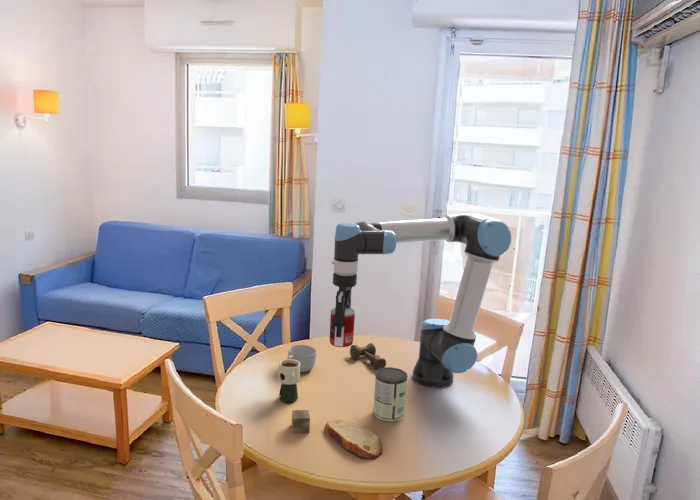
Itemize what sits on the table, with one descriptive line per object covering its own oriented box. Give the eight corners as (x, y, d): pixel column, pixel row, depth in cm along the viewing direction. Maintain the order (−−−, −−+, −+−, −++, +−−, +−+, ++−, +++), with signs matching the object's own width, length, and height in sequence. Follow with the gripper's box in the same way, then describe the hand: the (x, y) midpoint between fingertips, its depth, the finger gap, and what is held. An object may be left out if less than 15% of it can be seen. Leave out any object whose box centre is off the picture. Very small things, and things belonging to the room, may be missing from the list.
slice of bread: (324, 423, 174) (325, 413, 173) (382, 428, 174) (383, 417, 173) (318, 456, 157) (319, 444, 156) (382, 462, 156) (383, 450, 155)
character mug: (274, 393, 191) (275, 357, 189) (294, 390, 194) (295, 355, 191) (282, 408, 182) (283, 371, 179) (303, 405, 184) (304, 368, 181)
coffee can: (377, 403, 188) (380, 364, 185) (407, 410, 185) (410, 370, 182) (368, 417, 179) (371, 377, 176) (399, 424, 176) (403, 383, 173)
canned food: (354, 339, 184) (356, 307, 181) (351, 348, 176) (353, 315, 174) (331, 337, 184) (332, 305, 182) (327, 346, 177) (329, 313, 174)
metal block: (307, 424, 173) (308, 409, 172) (309, 433, 168) (309, 418, 167) (291, 425, 172) (292, 410, 171) (292, 433, 167) (293, 418, 166)
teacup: (303, 361, 219) (304, 341, 217) (321, 370, 211) (322, 350, 210) (274, 370, 209) (275, 350, 208) (293, 380, 202) (293, 359, 200)
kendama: (370, 374, 212) (344, 353, 229) (391, 370, 217) (364, 350, 234) (371, 359, 211) (345, 339, 227) (392, 356, 216) (365, 337, 232)
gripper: (340, 264, 186) (336, 328, 191) (326, 279, 166) (322, 351, 171) (362, 266, 184) (358, 331, 189) (350, 282, 164) (346, 354, 169)
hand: (341, 340), depth 180 cm, fingers closed on canned food, 8 cm apart
